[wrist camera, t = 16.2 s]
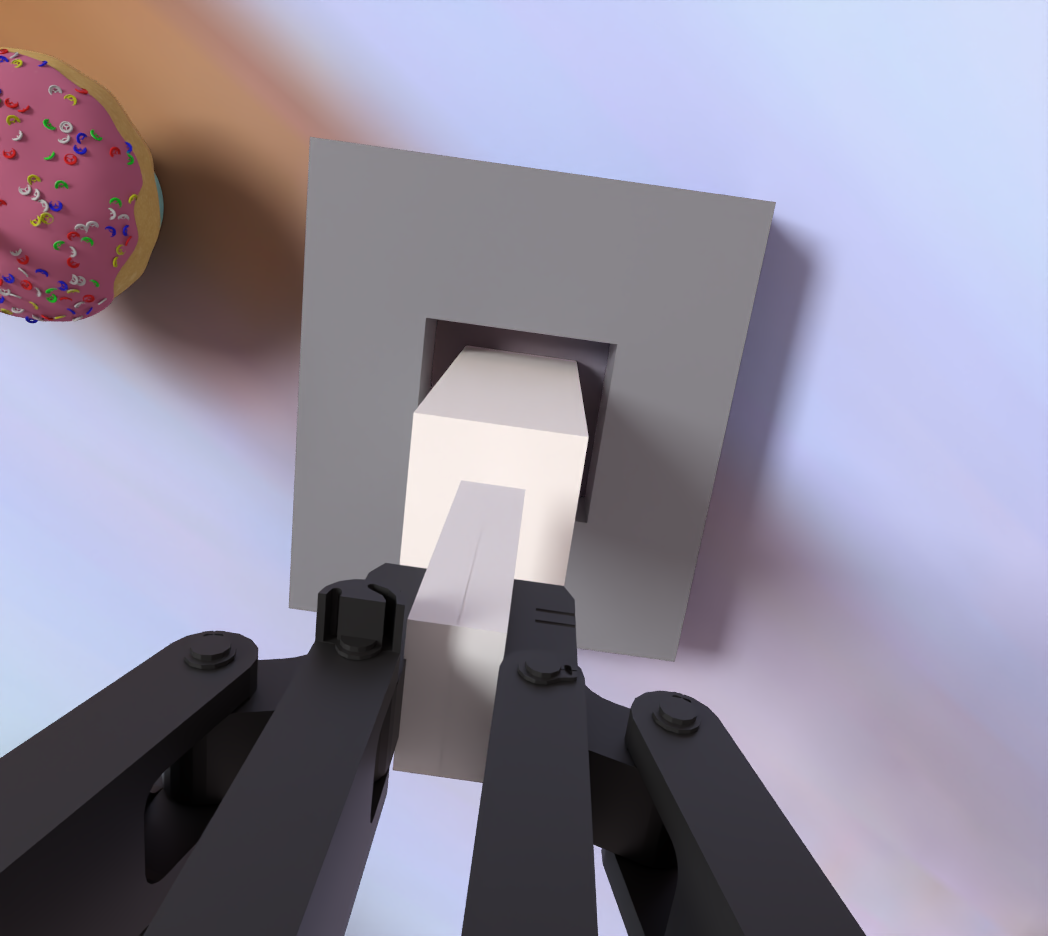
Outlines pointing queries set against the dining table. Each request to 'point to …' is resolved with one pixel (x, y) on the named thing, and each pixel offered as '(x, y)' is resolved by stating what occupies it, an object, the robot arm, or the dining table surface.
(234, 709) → the robot arm
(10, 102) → the cupcake
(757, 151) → the dining table surface
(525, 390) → the plug
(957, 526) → the dining table surface
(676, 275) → the socket
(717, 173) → the dining table surface
